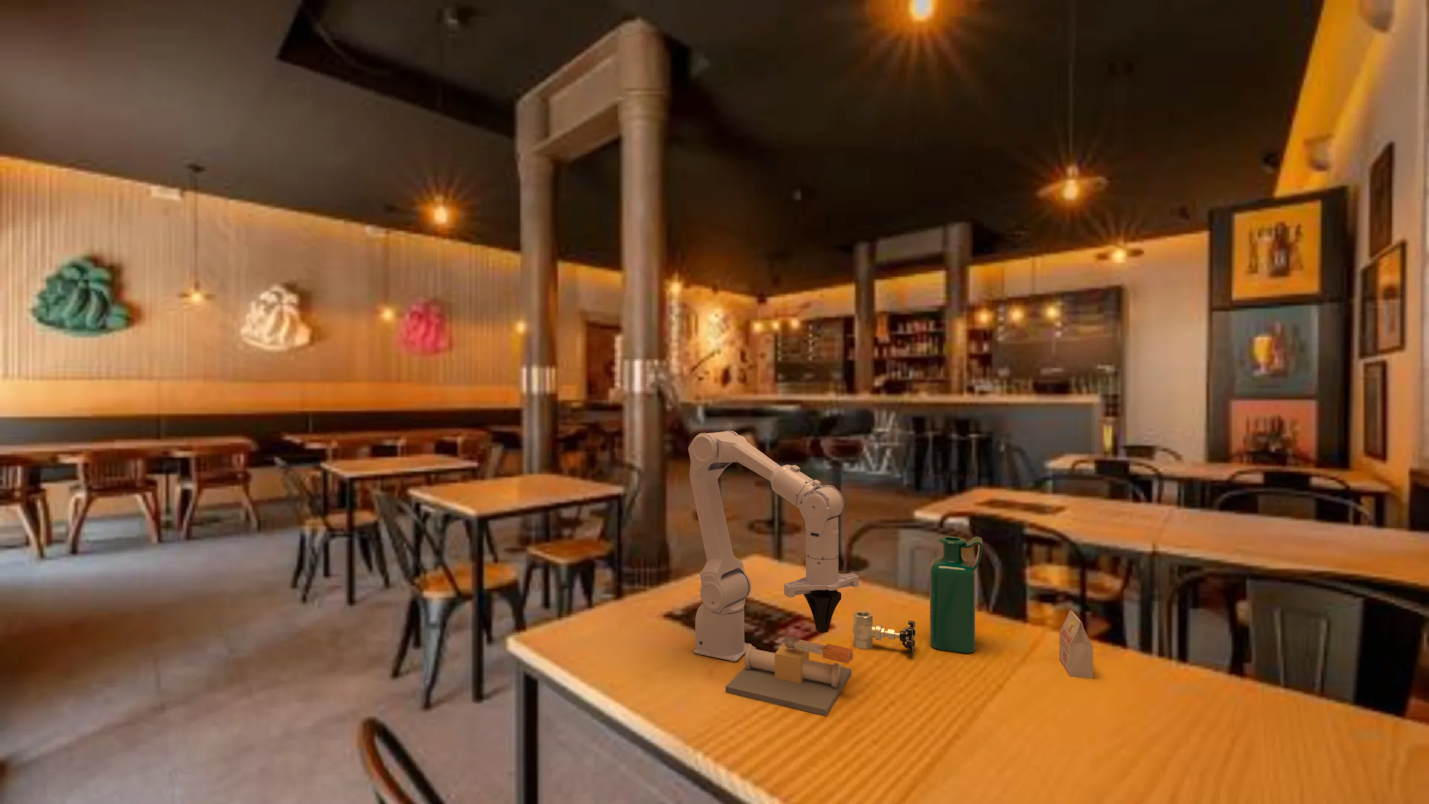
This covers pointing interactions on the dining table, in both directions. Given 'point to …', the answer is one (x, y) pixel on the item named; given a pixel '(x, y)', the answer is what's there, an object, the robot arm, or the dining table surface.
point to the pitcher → (953, 596)
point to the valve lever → (821, 649)
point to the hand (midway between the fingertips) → (821, 630)
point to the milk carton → (1075, 648)
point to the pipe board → (789, 680)
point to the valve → (879, 632)
